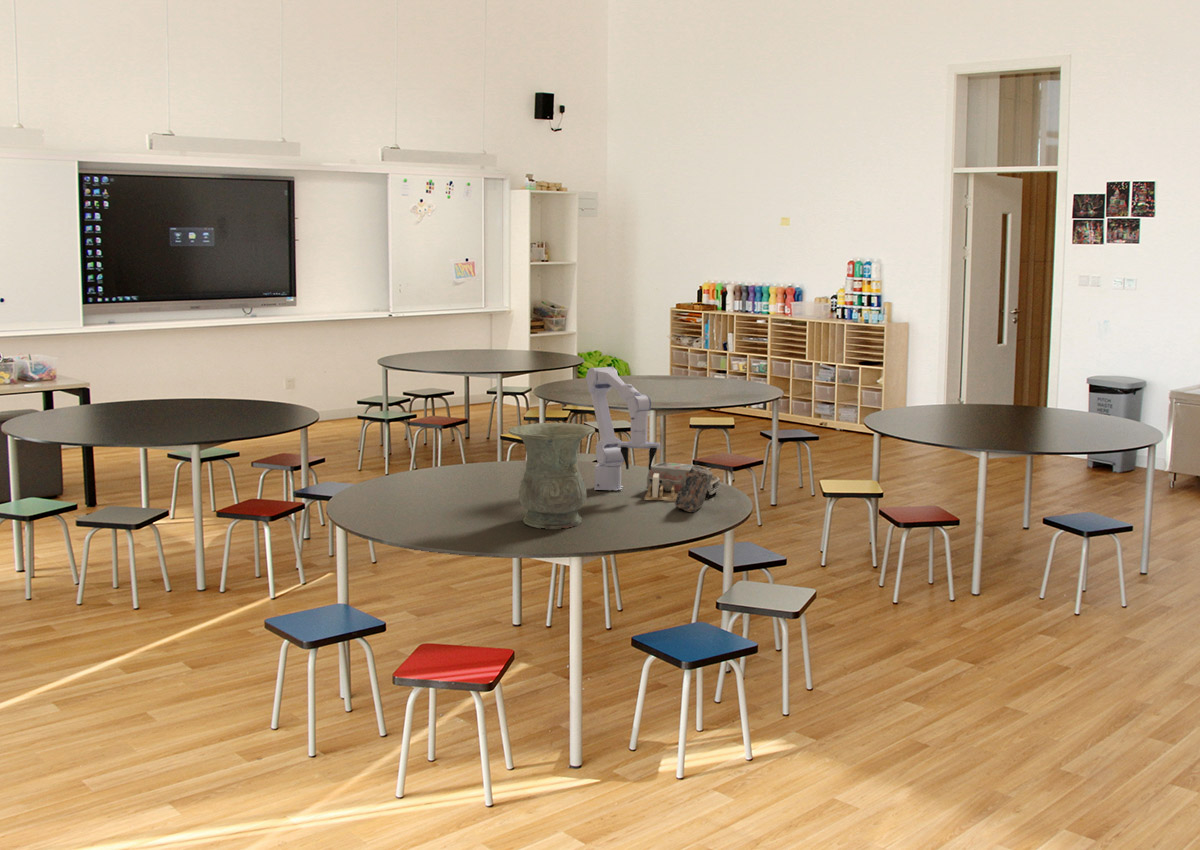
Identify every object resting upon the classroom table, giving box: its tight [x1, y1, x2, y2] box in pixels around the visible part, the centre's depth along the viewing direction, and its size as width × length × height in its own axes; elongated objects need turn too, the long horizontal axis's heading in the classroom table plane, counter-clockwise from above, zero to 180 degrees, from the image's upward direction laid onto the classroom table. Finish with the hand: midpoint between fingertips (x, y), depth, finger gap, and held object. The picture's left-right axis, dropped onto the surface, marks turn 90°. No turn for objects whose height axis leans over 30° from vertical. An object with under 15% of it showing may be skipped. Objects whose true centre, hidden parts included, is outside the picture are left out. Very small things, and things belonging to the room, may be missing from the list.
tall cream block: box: [652, 473, 659, 498], centre depth 388 cm, size 2×7×7 cm, turn 173°
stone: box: [674, 464, 714, 513], centre depth 372 cm, size 13×13×15 cm
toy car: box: [645, 461, 721, 499], centre depth 396 cm, size 11×25×10 cm, turn 66°
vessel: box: [508, 422, 596, 530], centre depth 352 cm, size 27×27×30 cm
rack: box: [644, 484, 678, 502], centre depth 388 cm, size 11×9×4 cm
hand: (638, 469), depth 386 cm, fingers open, 7 cm apart
